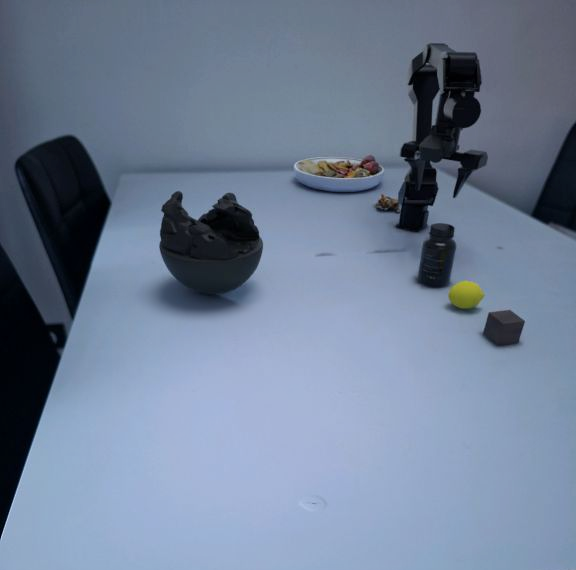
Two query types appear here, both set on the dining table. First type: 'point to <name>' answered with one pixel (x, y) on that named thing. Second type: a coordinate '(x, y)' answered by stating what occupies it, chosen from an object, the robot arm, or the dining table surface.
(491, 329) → the walnut block
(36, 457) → the dining table surface
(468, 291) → the lemon
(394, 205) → the brown mottled lump
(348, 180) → the bowl
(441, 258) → the supplement bottle
